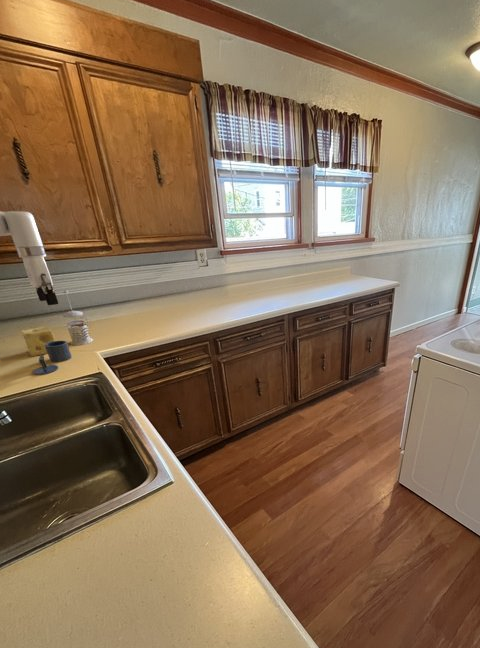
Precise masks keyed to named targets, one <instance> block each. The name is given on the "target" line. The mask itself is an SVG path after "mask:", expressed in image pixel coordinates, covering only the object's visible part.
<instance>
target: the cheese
mask: <svg viewBox="0 0 480 648" xmlns="http://www.w3.org/2000/svg"><path fill="white" fill-rule="evenodd" d="M21 334H22V336H23V338H24V340H25V344H26V346H27V350H28V353H29V355H30V357H32V358H33V357H37V356H40V355H46V354H48V353H47V351H46V348H45V344H47V343H50V342H54V341H56V340H55V336H54V334H53V332H52V330H51V329H50V328H49V327H48V326H40V327H35V328H29V329H22V330H21Z"/></svg>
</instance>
